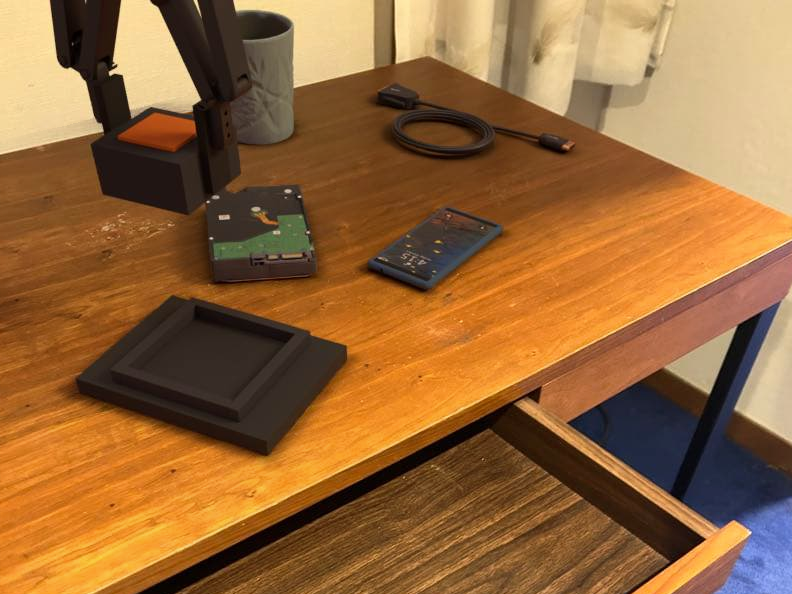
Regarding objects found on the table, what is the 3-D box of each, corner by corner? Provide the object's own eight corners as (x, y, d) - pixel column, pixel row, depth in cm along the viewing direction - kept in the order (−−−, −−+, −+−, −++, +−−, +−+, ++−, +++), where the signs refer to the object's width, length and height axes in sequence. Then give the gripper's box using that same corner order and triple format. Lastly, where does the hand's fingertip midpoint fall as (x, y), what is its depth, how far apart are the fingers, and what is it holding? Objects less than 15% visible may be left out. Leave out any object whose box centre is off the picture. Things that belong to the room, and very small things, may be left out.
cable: (520, 189, 99) (521, 176, 98) (329, 124, 109) (328, 112, 108) (574, 149, 106) (577, 137, 105) (391, 92, 117) (391, 81, 116)
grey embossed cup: (301, 115, 111) (295, 10, 102) (297, 149, 104) (291, 40, 95) (222, 113, 110) (209, 8, 101) (213, 147, 103) (199, 38, 94)
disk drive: (205, 214, 93) (213, 285, 83) (201, 188, 91) (209, 258, 81) (301, 207, 94) (319, 277, 84) (299, 182, 92) (318, 250, 82)
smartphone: (505, 225, 91) (428, 285, 82) (504, 232, 92) (428, 293, 83) (445, 204, 94) (364, 260, 85) (444, 211, 94) (364, 268, 86)
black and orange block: (102, 194, 68) (88, 139, 65) (159, 155, 73) (149, 102, 70) (188, 216, 66) (179, 160, 63) (241, 174, 71) (235, 120, 68)
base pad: (79, 392, 71) (70, 366, 69) (174, 308, 80) (169, 283, 78) (268, 455, 67) (265, 429, 65) (347, 359, 76) (346, 333, 74)
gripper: (287, -187, 52) (308, 182, 69) (9, -217, 57) (92, 134, 74) (222, -168, 47) (262, 223, 64) (-74, -203, 52) (35, 169, 69)
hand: (171, 175), depth 69 cm, fingers closed on black and orange block, 8 cm apart
